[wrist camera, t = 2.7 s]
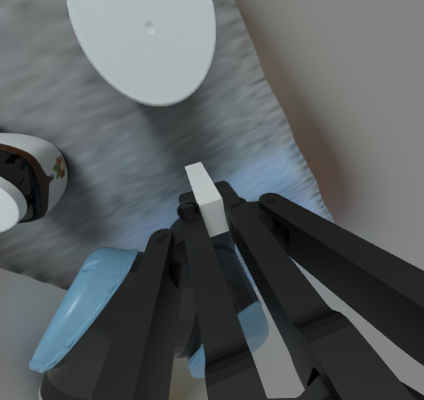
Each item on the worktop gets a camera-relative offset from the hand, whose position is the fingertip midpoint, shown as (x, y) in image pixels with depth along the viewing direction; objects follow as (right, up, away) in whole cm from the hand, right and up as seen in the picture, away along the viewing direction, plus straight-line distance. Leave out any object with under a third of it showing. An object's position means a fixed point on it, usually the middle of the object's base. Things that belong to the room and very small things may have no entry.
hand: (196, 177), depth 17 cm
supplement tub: (-7, +17, +7) cm, 19 cm away
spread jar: (-26, +4, +9) cm, 28 cm away
